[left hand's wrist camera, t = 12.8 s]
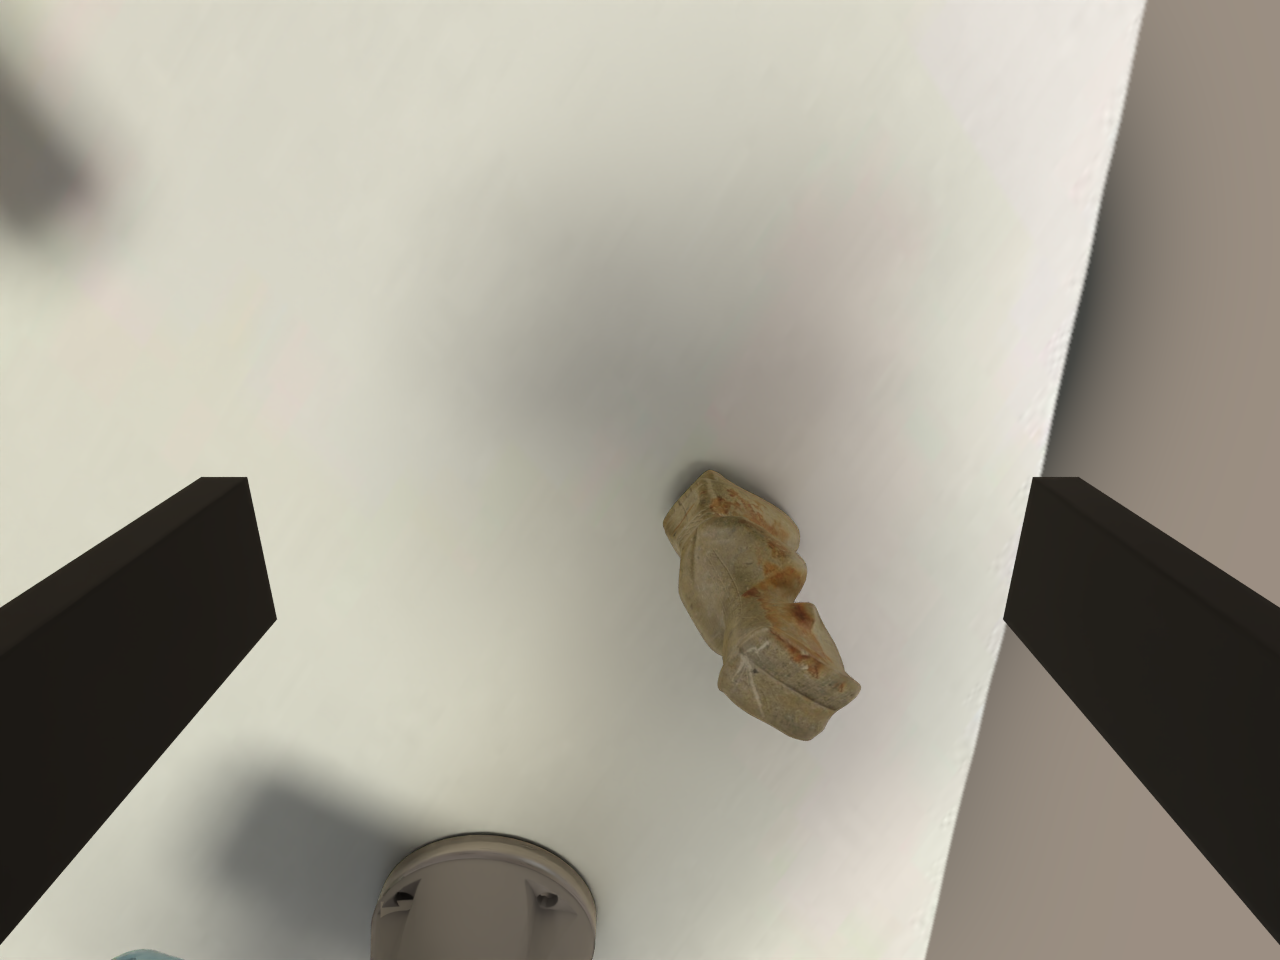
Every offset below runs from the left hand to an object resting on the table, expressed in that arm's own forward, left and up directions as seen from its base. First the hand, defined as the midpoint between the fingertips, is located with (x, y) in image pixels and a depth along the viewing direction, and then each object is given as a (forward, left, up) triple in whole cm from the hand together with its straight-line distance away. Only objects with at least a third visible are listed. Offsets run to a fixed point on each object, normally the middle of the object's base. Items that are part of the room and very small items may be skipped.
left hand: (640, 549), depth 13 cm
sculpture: (-11, -5, -26) cm, 29 cm away
